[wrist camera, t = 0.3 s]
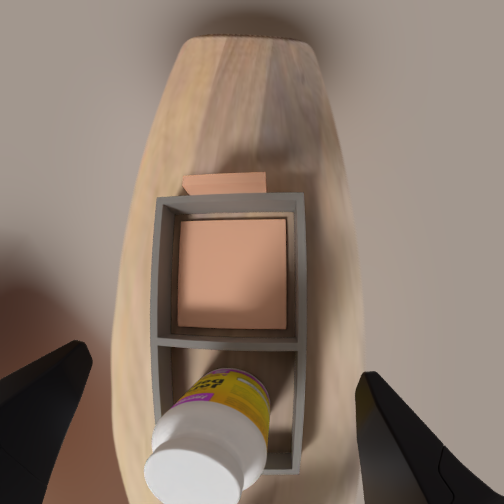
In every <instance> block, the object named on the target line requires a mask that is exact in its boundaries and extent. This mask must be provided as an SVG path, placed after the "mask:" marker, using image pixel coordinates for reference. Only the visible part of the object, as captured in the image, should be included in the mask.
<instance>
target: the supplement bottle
mask: <svg viewBox="0 0 504 504" xmlns="http://www.w3.org/2000/svg"><path fill="white" fill-rule="evenodd" d="M269 421H270V398H269V395H268V392H267V390H266V388H265V387H264V385H263V384H262V383H261V382H260V381H259V380H258V379H257V378H256V377H255V376H253V375H252V374H250V373H248V372H246V371H243V370H240V369H236V368H221V369H216V370H213V371H211V372H209V373H207V374H206V375H204V376H203V377H202V378H201V379H200V380H199V381H198V382H196V383H195V384H194V385H193V386H192V387H191V388H190V389H189V390H188V391H187V393H186V394H184V395H183V397H182V398H180V399H179V400H178V401H177V402H176V403H175V404H174V405H173V406H172V407H171V408H170V409H169V410H168V411H167V412H166V413H165V414H164V415H163V416H162V417H161V418H160V419H159V421H158V422H157V424H156V426H155V428H154V431H153V435H152V450H153V453H152V454H151V456H150V457H149V458H148V459H147V461H146V464H145V467H144V476H145V480H146V483H147V485H148V487H149V488H150V490H151V491H152V493H153V494H154V495H155V496H156V497H157V498H158V499H159V500H160V501H161V502H163V503H164V504H238V502H239V500H240V497H241V494H242V491H243V490H245V489H247V488H248V487H250V486H251V485H252V484H254V483H255V482H256V481H257V479H258V478H259V477H260V475H261V474H262V472H263V470H264V467H265V464H266V458H267V445H268V432H269Z"/></svg>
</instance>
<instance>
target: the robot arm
mask: <svg viewBox="0 0 504 504" xmlns="http://www.w3.org/2000/svg"><path fill="white" fill-rule="evenodd" d="M92 363H93V360H92V357H91V355H90V353H89V350H88V348H87V345H86V344H85V343H84V342H82V341H78V340H73V341H71V342H70V343H68V344H66V345H64V346H62V347H60V348H58V349H56V350H55V351H53V352H51V353H49V354H47V355H45V356H43V357H41V358H39V359H38V360H36V361H34V362H32V363H30V364H28V365H26V366H25V367H23V368H21V369H19V370H17V371H15V372H13V373H11V374H10V375H8V376H6V377H4V378H2V379H1V380H0V504H42V502H43V499H44V496H45V492H46V489H47V485H48V483H49V479H50V476H51V473H52V471H53V468H54V464H55V462H56V459H57V456H58V454H59V451H60V448H61V445H62V443H63V440H64V438H65V435H66V433H67V430H68V428H69V426H70V423H71V421H72V418H73V416H74V413H75V411H76V409H77V407H78V404H79V402H80V399H81V397H82V394H83V391H84V388H85V385H86V382H87V379H88V376H89V373H90V370H91V367H92ZM355 402H356V429H357V443H358V450H359V457H360V465H361V473H362V481H363V490H364V500H365V504H504V496H501V495H500V494H498V493H496V492H494V491H493V490H492V489H491V488H490V487H489V486H487V485H486V484H485V483H484V482H483V481H481V480H480V479H479V478H478V477H477V476H475V475H474V474H473V473H472V472H471V471H470V470H469V469H468V468H466V467H465V466H464V465H463V464H462V463H461V462H460V461H459V460H458V459H457V458H456V457H455V456H454V455H453V454H452V453H451V452H450V451H449V449H448V448H447V447H446V446H443V443H442V442H441V441H440V440H439V439H438V438H437V436H436V435H435V434H434V433H433V432H432V431H431V430H430V429H429V428H428V427H427V426H426V424H424V422H423V421H422V420H421V419H420V418H419V417H418V416H417V415H416V414H415V413H414V411H413V410H412V409H411V408H410V407H409V406H408V405H407V404H406V403H405V402H404V401H403V400H402V399H401V398H400V397H399V395H398V394H397V393H396V392H395V391H394V390H393V389H392V388H391V387H390V386H389V385H388V383H387V382H386V381H385V380H384V379H383V378H382V377H381V376H380V375H379V374H378V373H377V372H375V371H370V372H363V373H362V375H361V378H360V380H359V383H358V385H357V388H356V391H355Z"/></svg>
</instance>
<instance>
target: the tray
mask: <svg viewBox="0 0 504 504" xmlns="http://www.w3.org/2000/svg"><path fill="white" fill-rule="evenodd" d="M182 186H183V187H184V189H185V190H186V191H187V193H188V194H189V195H188V196H172V197H157V201H156V211H155V222H154V234H153V248H152V266H151V295H150V344H151V372H152V389H153V403H154V414H155V425H156V424H157V422H158V421H159V419H160V418H161V417H162V416H163V415H164V414H165V413H166V412H167V411H168V410H169V409H170V408H171V407H172V406H173V391H172V368H171V347H181V348H194V349H211V350H233V351H295V371H294V400H293V422H292V440H291V453H267V458H266V464H265V467H264V470H263V472H262V474H261V475H295V474H299V472H300V461H301V449H302V435H303V420H304V403H305V381H306V348H307V263H306V228H305V205H304V192H286V193H267V186H266V173H265V172H247V173H222V174H204V175H189V176H183V183H182ZM238 212H294V233H295V337H291V338H252V337H216V336H196V335H180V334H171V275H172V251H173V234H174V219H175V215H178V214H203V213H238ZM178 326H185V327H204V328H232V329H286V223H285V219H263V220H213V221H182V222H181V231H180V249H179V274H178Z"/></svg>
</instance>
